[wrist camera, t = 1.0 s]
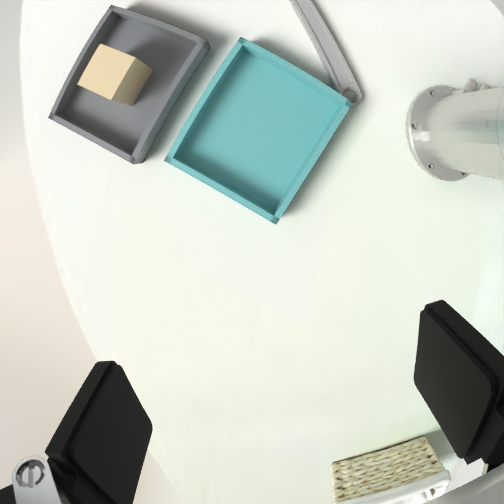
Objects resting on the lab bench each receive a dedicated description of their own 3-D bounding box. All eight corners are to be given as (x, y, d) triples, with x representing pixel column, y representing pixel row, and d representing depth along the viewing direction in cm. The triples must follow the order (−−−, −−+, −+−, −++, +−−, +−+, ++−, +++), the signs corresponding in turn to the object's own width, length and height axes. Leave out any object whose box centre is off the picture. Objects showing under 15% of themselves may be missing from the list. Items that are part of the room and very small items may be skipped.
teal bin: (241, 45, 31) (240, 36, 28) (345, 106, 33) (353, 102, 30) (171, 159, 35) (164, 160, 32) (274, 218, 37) (275, 224, 34)
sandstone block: (121, 56, 30) (100, 43, 25) (153, 70, 31) (135, 57, 25) (101, 91, 32) (77, 84, 26) (132, 106, 32) (111, 100, 27)
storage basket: (327, 491, 58) (335, 539, 44) (322, 460, 53) (332, 518, 39) (420, 463, 56) (438, 507, 42) (430, 427, 51) (455, 478, 37)
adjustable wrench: (362, 104, 33) (367, 102, 32) (313, 117, 34) (316, 116, 32) (287, -54, 26) (288, -60, 24) (241, -44, 26) (240, -51, 25)
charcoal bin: (120, 12, 29) (111, 4, 26) (210, 47, 31) (207, 39, 28) (60, 118, 33) (48, 117, 30) (142, 162, 35) (133, 164, 32)
